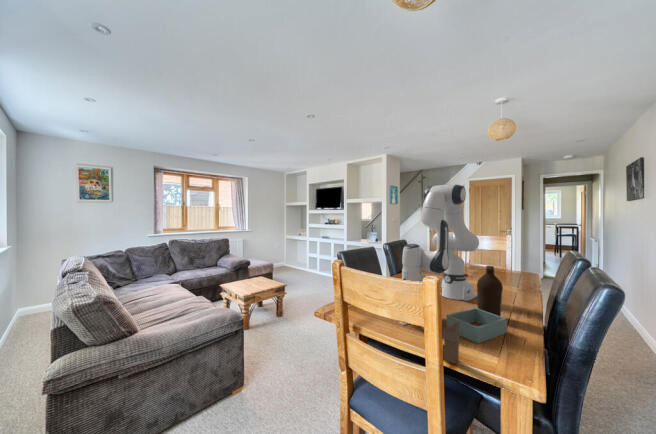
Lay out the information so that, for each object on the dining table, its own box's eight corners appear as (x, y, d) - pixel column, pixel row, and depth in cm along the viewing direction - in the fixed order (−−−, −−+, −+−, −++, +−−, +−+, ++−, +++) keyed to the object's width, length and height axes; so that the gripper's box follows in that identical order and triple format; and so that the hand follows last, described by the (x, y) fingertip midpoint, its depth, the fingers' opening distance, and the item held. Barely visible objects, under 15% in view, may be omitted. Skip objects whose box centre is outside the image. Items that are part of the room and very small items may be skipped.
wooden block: (453, 364, 85) (455, 311, 85) (424, 350, 93) (425, 302, 93) (459, 360, 87) (460, 309, 87) (429, 347, 96) (430, 300, 95)
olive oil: (480, 320, 120) (481, 267, 120) (473, 311, 131) (474, 263, 130) (505, 322, 118) (507, 269, 117) (496, 313, 128) (498, 264, 128)
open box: (474, 320, 120) (474, 307, 120) (506, 332, 108) (506, 318, 108) (446, 328, 111) (446, 315, 111) (478, 343, 99) (478, 328, 99)
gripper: (400, 281, 116) (399, 311, 117) (430, 276, 126) (430, 304, 126) (390, 278, 122) (390, 306, 122) (420, 273, 131) (420, 300, 132)
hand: (411, 305), depth 124 cm, fingers open, 8 cm apart
